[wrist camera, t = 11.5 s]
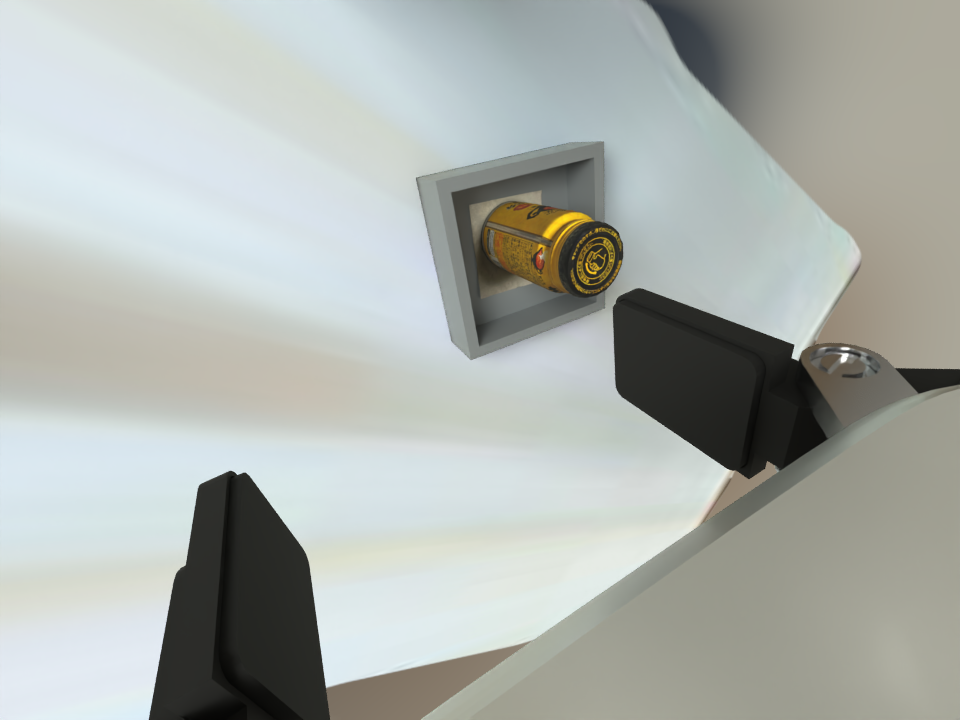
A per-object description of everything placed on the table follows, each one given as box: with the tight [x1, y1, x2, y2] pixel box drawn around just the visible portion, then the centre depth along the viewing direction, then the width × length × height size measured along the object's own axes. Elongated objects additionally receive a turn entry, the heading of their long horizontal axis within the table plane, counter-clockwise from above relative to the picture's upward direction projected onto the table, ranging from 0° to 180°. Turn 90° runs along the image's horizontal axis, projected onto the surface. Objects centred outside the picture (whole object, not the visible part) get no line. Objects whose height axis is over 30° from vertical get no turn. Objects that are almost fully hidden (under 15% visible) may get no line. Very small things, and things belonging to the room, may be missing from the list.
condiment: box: [469, 190, 623, 299], centre depth 34 cm, size 7×8×12 cm
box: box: [416, 142, 605, 360], centre depth 38 cm, size 15×15×4 cm
